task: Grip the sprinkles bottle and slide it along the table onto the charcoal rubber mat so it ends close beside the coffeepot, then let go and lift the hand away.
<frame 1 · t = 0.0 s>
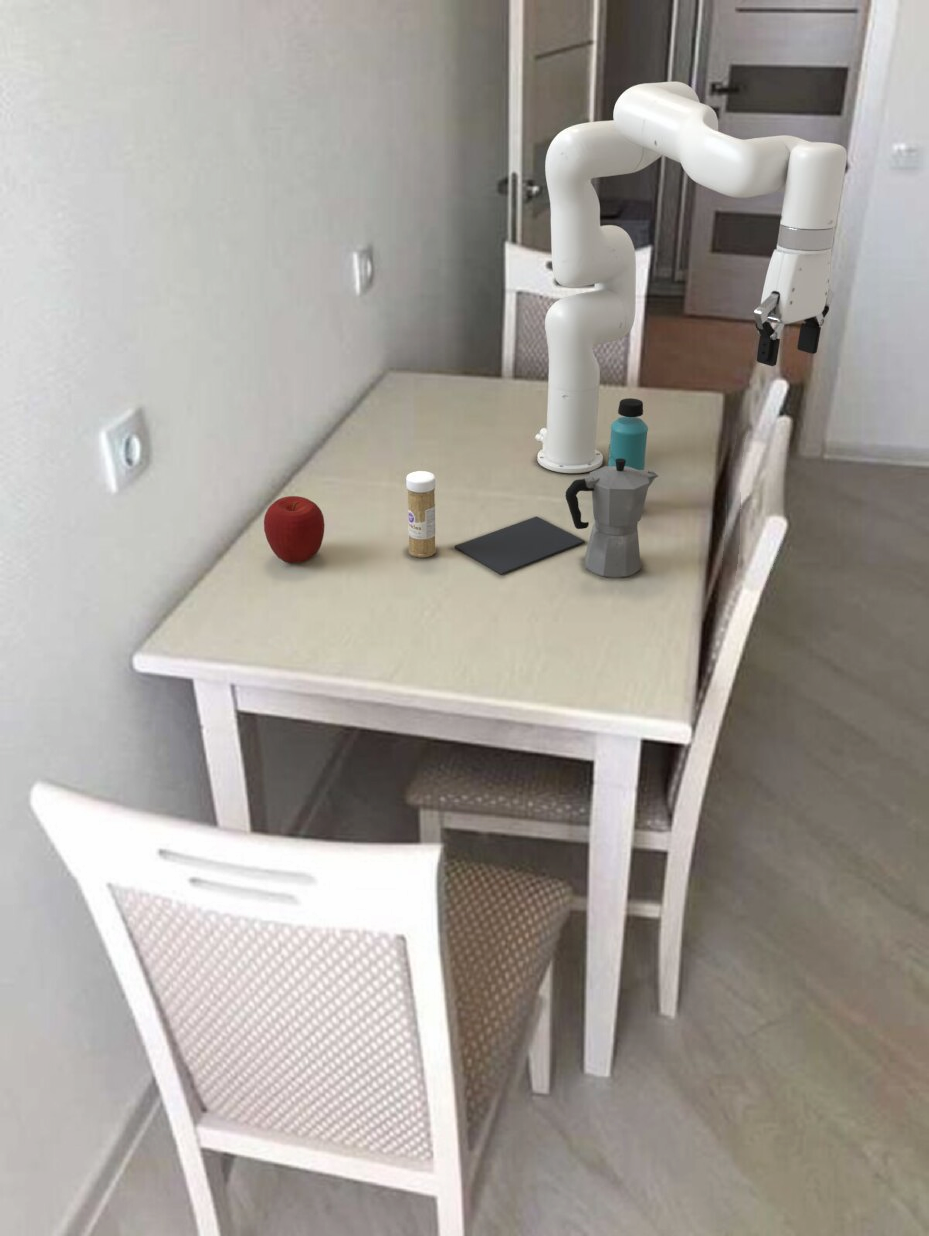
hand: (786, 357, 159), 31 cm above the table, tool pointing down, fingers open, 9 cm apart
sprinkles bottle: (422, 553, 172), on the table
coffeepot: (606, 567, 168), on the table
beverage bottle: (622, 511, 186), on the table
mat: (519, 545, 174), on the table
apple: (297, 559, 171), on the table
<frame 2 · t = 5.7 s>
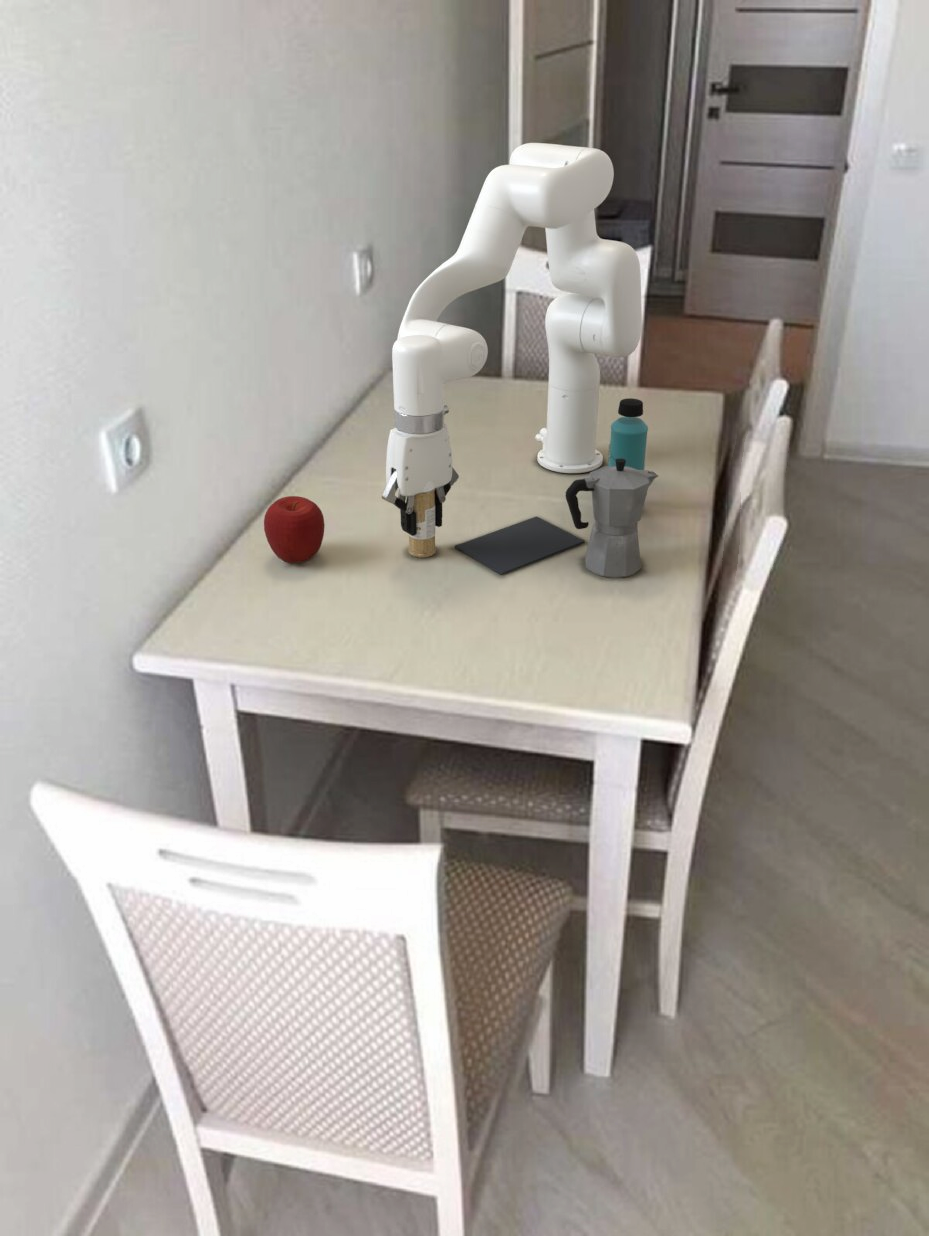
hand: (421, 527, 170), 5 cm above the table, tool pointing down, fingers closed on sprinkles bottle, 4 cm apart
sprinkles bottle: (422, 553, 172), on the table, touching gripper
everything else where it was.
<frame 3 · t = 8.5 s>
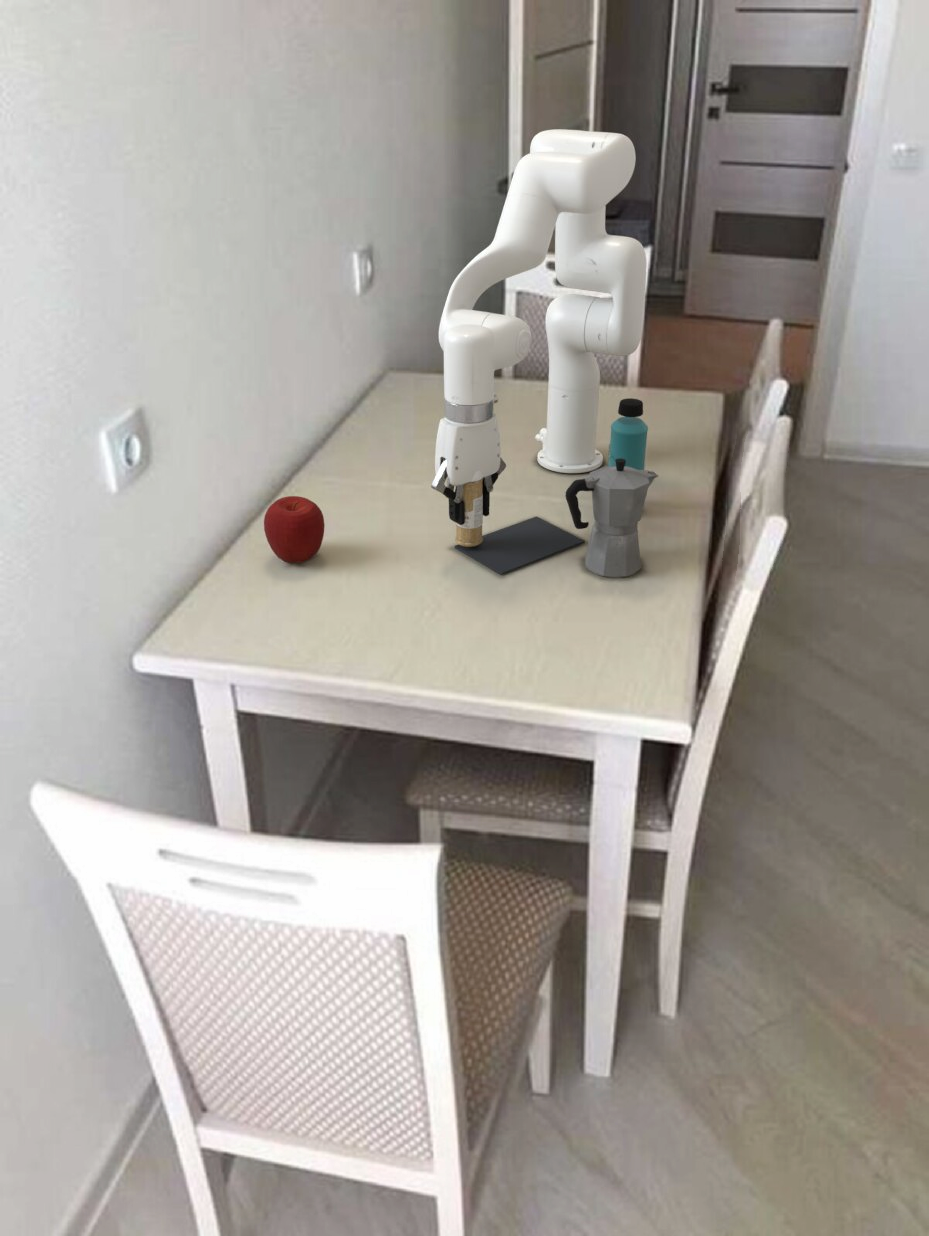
hand: (469, 516, 171), 6 cm above the table, tool pointing down, fingers closed on sprinkles bottle, 4 cm apart
sprinkles bottle: (469, 542, 173), point 1 cm above the table, touching gripper
everything else where it was.
when the fingers open (5 cm above the table, at t = 11.6 s): sprinkles bottle stays where it is, resting on mat.
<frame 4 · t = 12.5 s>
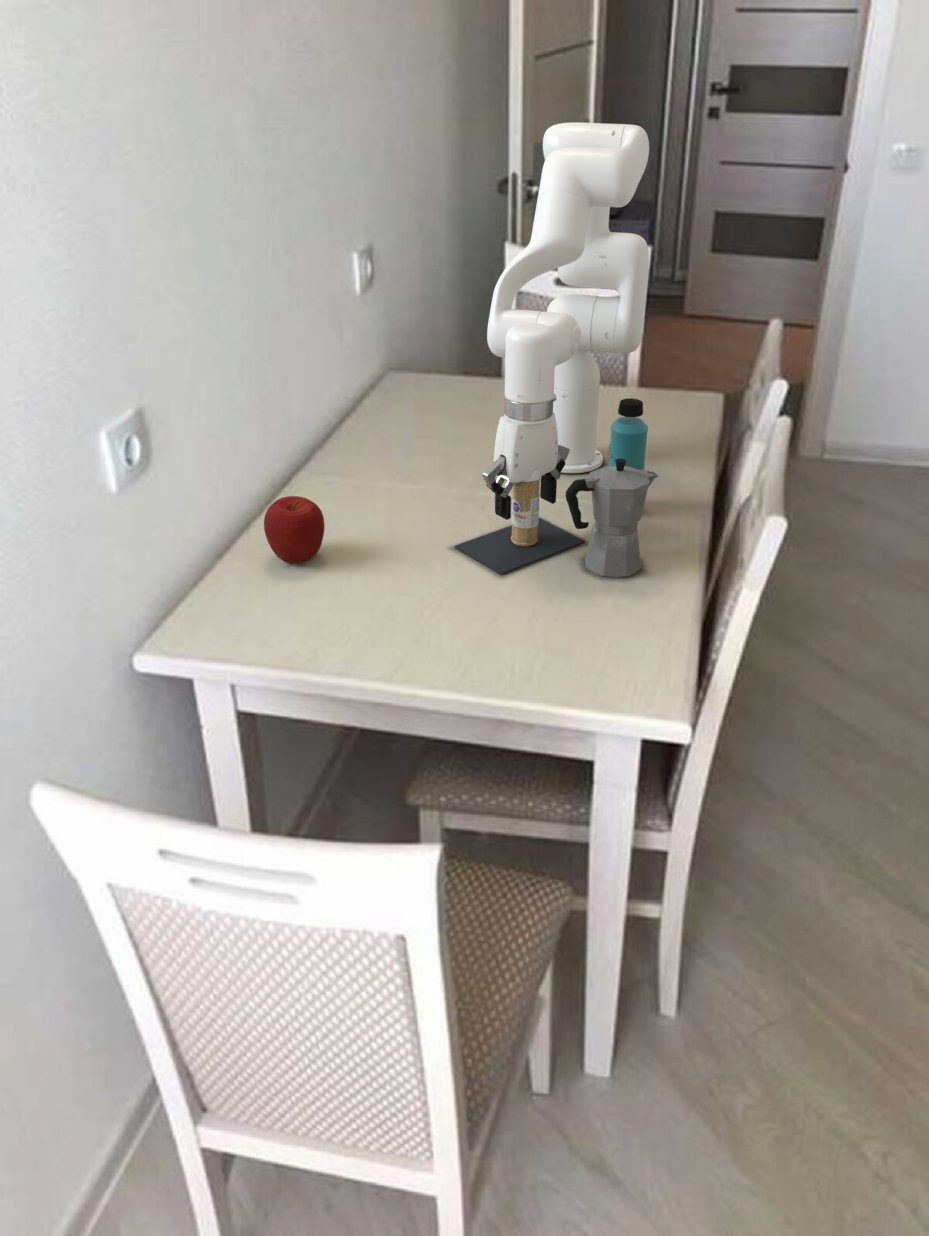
hand: (525, 508, 172), 6 cm above the table, tool pointing down, fingers open, 9 cm apart
sprinkles bottle: (524, 542, 175), resting on mat
everything else where it was.
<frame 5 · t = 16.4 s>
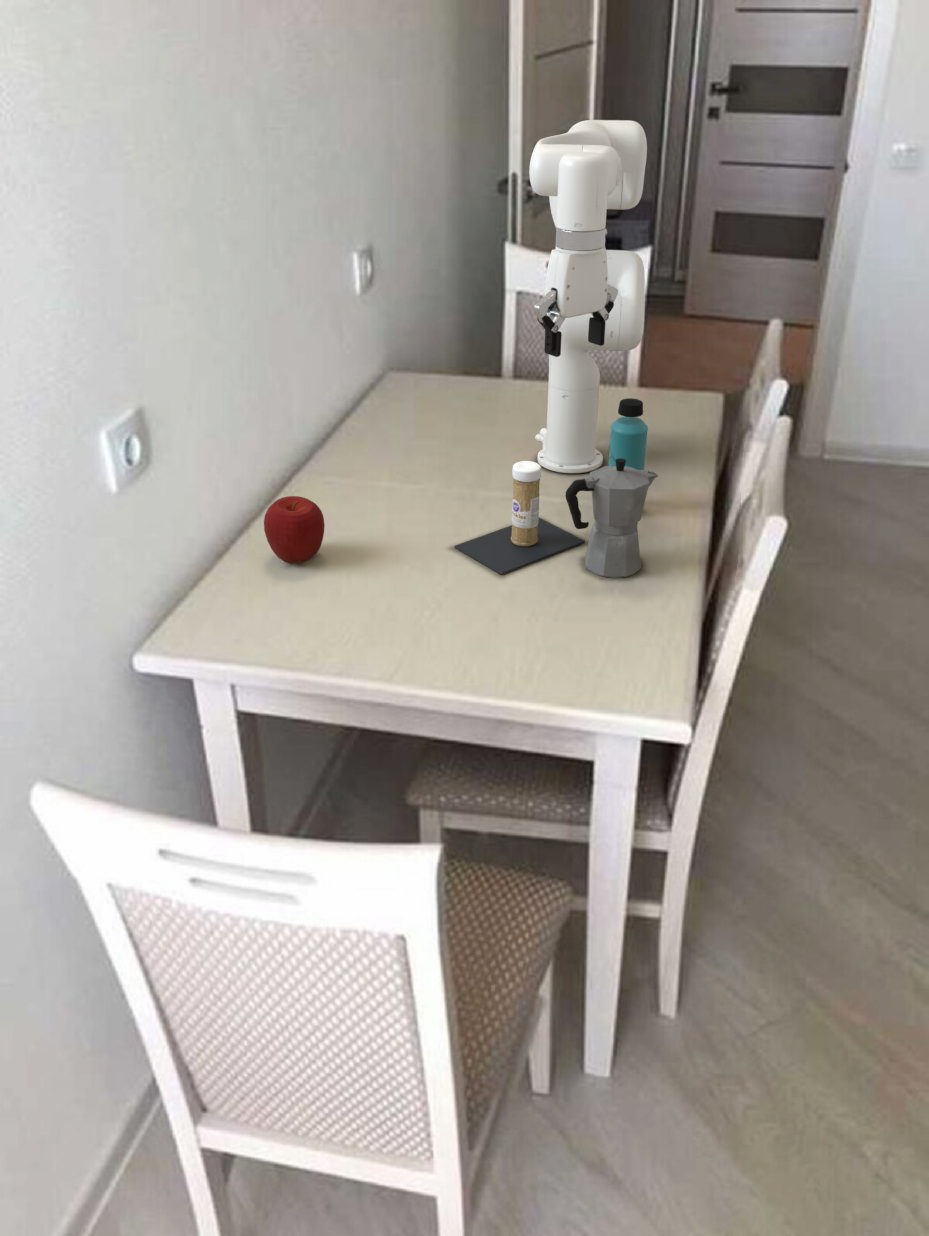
hand: (574, 349, 172), 28 cm above the table, tool pointing down, fingers open, 9 cm apart
nothing on the table moved.
at the end: sprinkles bottle 14.9 cm from the coffeepot (horizontally); sprinkles bottle inside the target area on the mat (0.5 cm from its centre), point 0.2 cm above the mat's base; sprinkles bottle tilted 0° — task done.
